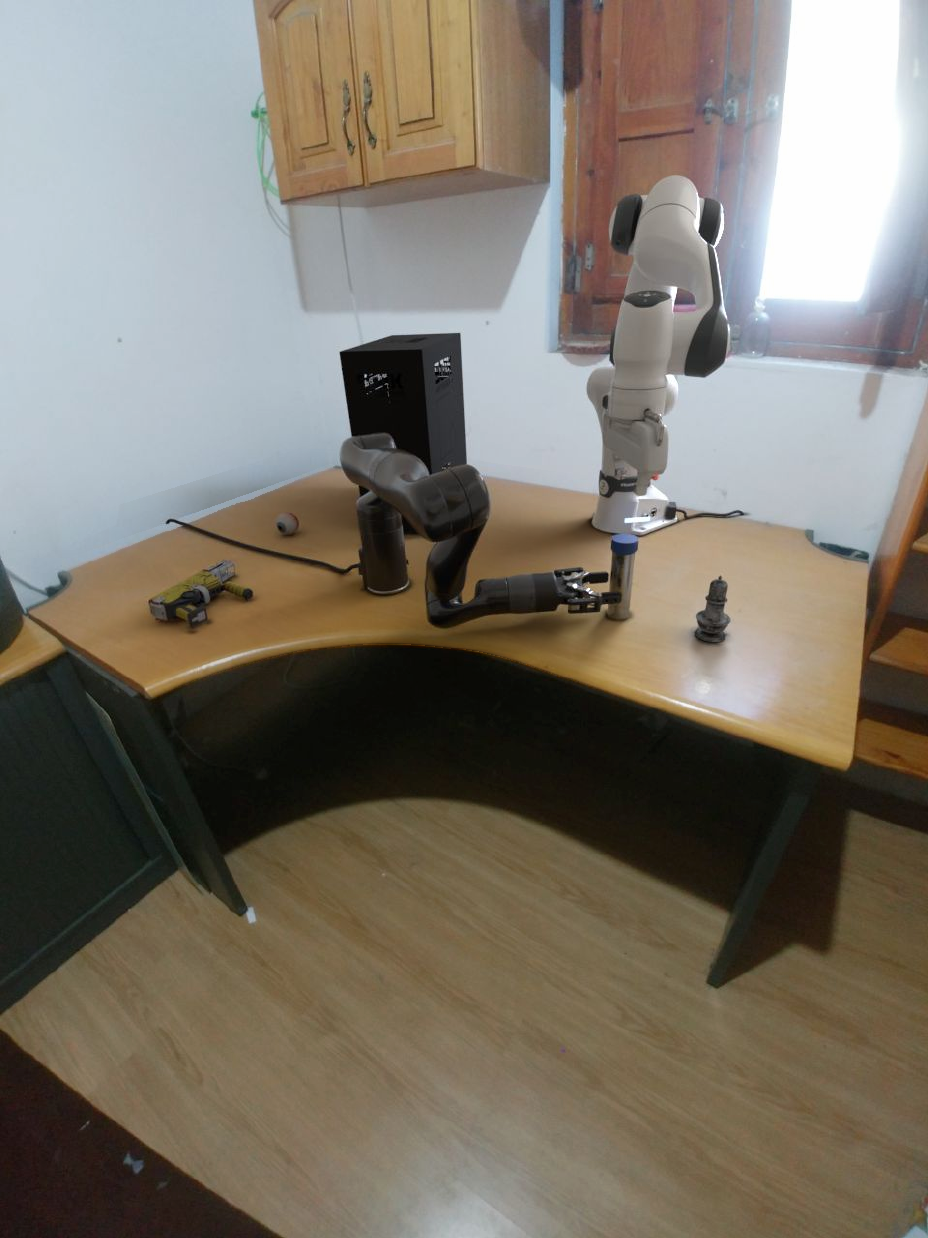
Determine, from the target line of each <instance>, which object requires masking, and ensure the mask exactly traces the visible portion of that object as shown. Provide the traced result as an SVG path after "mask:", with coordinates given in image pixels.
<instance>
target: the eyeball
mask: <svg viewBox="0 0 928 1238" xmlns="http://www.w3.org/2000/svg"><path fill="white" fill-rule="evenodd" d="M299 525H300V522H299V519H298V517H297V516H296V515H295V514H294V513H292V512H287V511H286V512H282V513H280V514H279V515H278V516H277V517H276V520H275V527H276V529H277V530H278V531H279V532H280V533H281V534H282V535H285V536H286V535H287V536H289V535H293V534H295V533H296V532H297V531H298V529H299Z"/></svg>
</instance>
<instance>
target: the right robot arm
mask: <svg viewBox="0 0 928 1238" xmlns="http://www.w3.org/2000/svg"><path fill="white" fill-rule="evenodd" d="M698 194H699V193H698V189H697V188H696V186H695V184H694V183H693V181H692V180H691V179H689V178H688V177H686V176H683V175H679V174H678V175H677V174H673V175H669V176H666V177H664V178H662V179H660V180H659V181H658V182H656V183H655V184H654V185H653V187H652V188H651V189H650V191H649V193H648V194H641V195H640V194H639V193H632V194H628V195H625V196H623V197H622V198H621V199H620V200H619V201H617V204H616V206H615V208H614V209H613V211H612V214H611V216H610V220H609V225H608V237H609V240H610V246H611V248H612V250H613V251H614V252H615V253H617V254H620V255H622V256H627V257H628V255H631V256H633V262H632V264H631V268H630V271H629V275H628V279H627V282H626V287H625V291H624V295H623V296H624V297H623V299H622V300H621V303H620V306H619V310H618V316H617V321H616V325H615V326H614V327H613V328H612V330H611V333H610V341H609V342H610V343H609V357H608V361H609V362H610V363H607V364H603V365H599V366H597V367H596V368H595V369H593V371H591V373H590V375H589V377H588V378H587V383H586V395H587V398H588V400H589V401H590V402H591V404H592V406H593V408H594V409H595V413H596V416H597V419H598V423H599V427H600V433H601V440H602V447H601V448H602V449H601V468H600V470H599V474H598V492H599V493H598V498H597V502H596V507H595V511H594V514H593V517H592V520H591V525H592V526H593V527H594V528H595V529H597V530H599V531H601V532H605V533H611V534H632V535H635V536H645V535H646V534H650V533H652V532H654V531H657V530H660V529H662V528H665V527H668V526H670V525H672V524H675V523H677V522H678V516H677V512H678V513H682V514H683V518H684V519H686V520H690V519H694V518H697V517H700V516H701V517H702V516H709V517H729V516H732V515H734V514H739V515H741V516H745V514H746V513H744V512H743V511H742V510H740V509H736V510H732V511H730V512H726V513H718V512H717V513H716V512H697V513H695V514H692V515H687V514H688V513H687V511H686V510H684V509H681V508H678V507H677V503H676V501H669V498H668V497H667V496H666V495H665V494H664V493H663V492H661V491H660V490H659V489H658V488H656V487H655V486H654V485H652V483H651V480H653V481H658V479H659V478H660V475H663V474H664V473H665V472H666V471H667V468H668V458H669V437H670V436H669V430H668V427H667V425H665V423H664V422H663V418H664V417H666V416H667V415H669V414H670V412H672V410H673V409H674V408H675V406H676V404H677V402H678V398H679V384H678V381H677V380H676V378H675V376H685V377H692V378H701V379H702V378H703V379H704V378H707V377H709V376H710V375H712V374H713V373H714V372H716V371H717V370H718V369H719V368H721V367H722V366H723V365H724V364H725V361H726V359H727V358H728V357H727V356H728V353H729V350H730V345H731V331H730V326H729V321H728V317H727V313H726V310H725V304H724V297H723V288H722V280H721V273H720V266H719V261H718V256H717V255H718V254H717V252H716V249H715V248H716V246H717V245H718V244H719V241H720V240H721V237H722V235H723V231H724V224H725V222H724V221H725V220H724V218H725V217H724V207H723V205H722V202H720V201H719V200H717V199H715V198H711V197H707V196H705V197H704V198H702V197H699V195H698ZM678 289H681V290H683V291H687V292H689V293H690V294H692V295H693V296H694V303H695V310H691V311H676V312H675V311H674V305H675V301H676V295H677V290H678Z"/></svg>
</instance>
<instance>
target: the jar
mask: <svg viewBox="0 0 928 1238" xmlns="http://www.w3.org/2000/svg"><path fill="white" fill-rule="evenodd" d="M635 559H636V552H635V553H633V554H629V555H622V554H617V553H614V552H613V551H612V550H611V559H610V560H611V563H610V572H609V573H610V574H609V587H608V592H613V591H620V592H621V594H622V600H621V602H620V603H616V604H607V613H606V614H607V616H608V617H609V618H610V619H611V620H612V619H613V620H616V621H617V620H618V621H622V620H626V619H628V618H629V616H630V610H631V600H632V589H633V581H634V580H633V578H634V569H635Z"/></svg>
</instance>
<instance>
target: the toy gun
mask: <svg viewBox="0 0 928 1238" xmlns="http://www.w3.org/2000/svg"><path fill="white" fill-rule="evenodd" d="M235 566H236V565H235V562H234V561H233V560H227V559H225V558H224V559H222V560H221V561H219V562H216V563H215V564H213V565H211V566H209V567H208V568H206V569H205V568H203V569H202V570H201V571H199V572H197V573H195V574H193V575H191V576H189V577H187V578H186V579H184V580H182V581H180V582H178V583H176V584H174V585H173V586H171V587H169V588H167V589H166V590H164V591H162V592H160V593H157V594H156V595H154V596H152V597H151V598H149V599H148V606H149V611H150V614H151V616H152V618H155V621H159V622H164V621H168V622H169V621H176V620H179V619H182V620H185V621H187V622H188V625H189V628H191V629H193V628H195V627H197V626H199V625H201V624H203V623H205V622H207V621H208V620H209V619H208V612H207V608H206V606H207V605H209V603H210V602H211V598H213V597H215V596H218V595H220V594H222V593H223V592H224V591H225V592H227V593H229V594H232V595H234V596H237V597H239V598H242V599H244V600H246V601H248V600H250V599H252V598H254V591H253V589H251V588H250V587H245V586H243V585H240V584H237V583H235V582H232V581H227V580H229V579H230V578H232V577H234V576H236V567H235ZM231 568H233V571H229V570H230V569H231ZM225 581H226V582H225ZM223 582H225V583H224V584H223Z"/></svg>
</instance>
